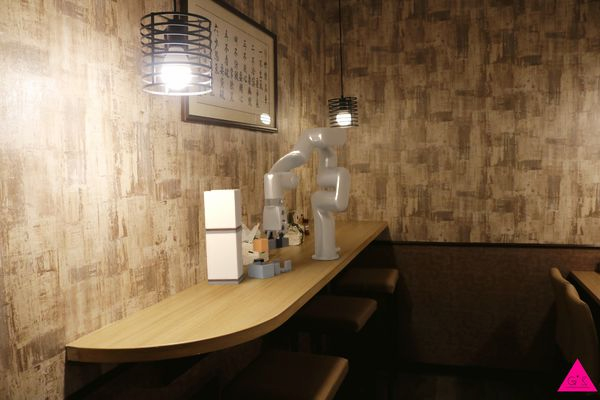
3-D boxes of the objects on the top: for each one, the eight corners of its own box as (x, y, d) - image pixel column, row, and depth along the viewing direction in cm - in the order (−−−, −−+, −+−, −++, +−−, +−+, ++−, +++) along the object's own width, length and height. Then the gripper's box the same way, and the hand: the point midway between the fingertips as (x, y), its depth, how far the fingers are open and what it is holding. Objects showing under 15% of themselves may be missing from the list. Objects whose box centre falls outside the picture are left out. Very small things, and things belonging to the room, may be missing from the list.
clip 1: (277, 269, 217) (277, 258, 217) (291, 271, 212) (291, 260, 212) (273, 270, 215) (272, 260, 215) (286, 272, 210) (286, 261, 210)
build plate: (256, 272, 214) (256, 262, 214) (243, 271, 218) (242, 260, 218) (274, 267, 224) (273, 257, 224) (260, 266, 228) (260, 256, 228)
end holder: (259, 273, 209) (259, 261, 209) (274, 275, 204) (273, 263, 204) (248, 276, 204) (247, 264, 204) (263, 279, 199) (262, 266, 199)
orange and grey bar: (281, 245, 217) (281, 234, 216) (289, 246, 214) (289, 235, 213) (253, 251, 203) (252, 239, 203) (261, 252, 201) (261, 240, 200)
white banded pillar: (243, 278, 202) (240, 189, 200) (238, 284, 191) (234, 190, 189) (215, 278, 203) (211, 190, 201) (208, 284, 192) (203, 191, 190)
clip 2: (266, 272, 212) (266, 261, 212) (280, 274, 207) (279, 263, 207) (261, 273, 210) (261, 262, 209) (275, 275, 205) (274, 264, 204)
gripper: (295, 202, 207) (296, 248, 208) (265, 202, 217) (266, 245, 218) (283, 204, 201) (284, 250, 202) (252, 203, 211) (254, 247, 213)
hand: (275, 247), depth 210 cm, fingers closed on orange and grey bar, 3 cm apart
